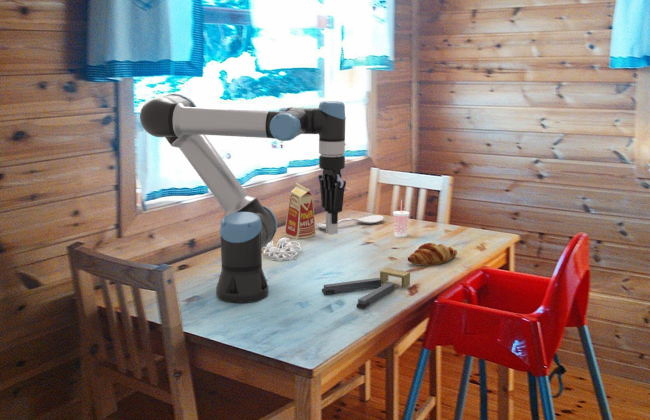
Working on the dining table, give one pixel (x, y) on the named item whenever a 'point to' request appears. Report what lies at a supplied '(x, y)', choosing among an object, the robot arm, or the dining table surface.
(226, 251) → the robot arm
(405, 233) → the beverage cup
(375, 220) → the white long curved piece
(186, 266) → the dining table surface
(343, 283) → the tongs arm
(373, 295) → the tongs fixed arm
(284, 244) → the tangled rod sculpture
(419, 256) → the croissant
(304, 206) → the milk carton
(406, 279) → the tan block
